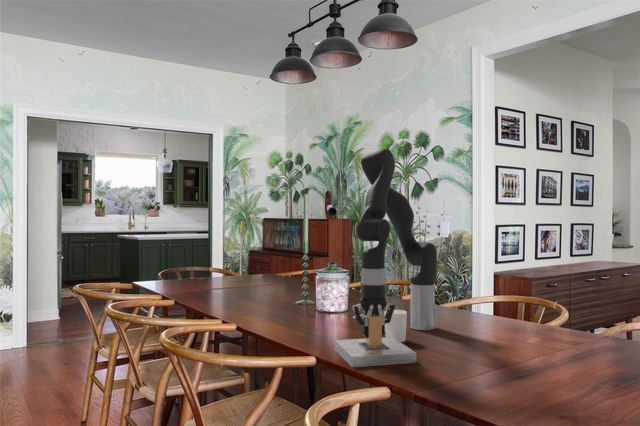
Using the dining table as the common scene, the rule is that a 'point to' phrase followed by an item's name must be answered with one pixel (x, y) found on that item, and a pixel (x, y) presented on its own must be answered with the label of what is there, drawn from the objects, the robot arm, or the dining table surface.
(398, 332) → the white cup
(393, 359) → the slab with square hole
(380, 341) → the tan wooden block
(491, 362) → the dining table surface
